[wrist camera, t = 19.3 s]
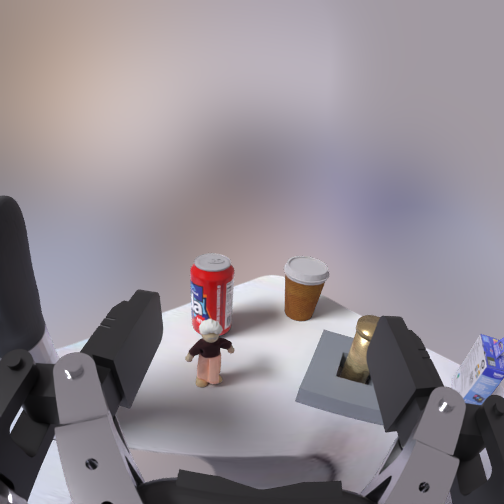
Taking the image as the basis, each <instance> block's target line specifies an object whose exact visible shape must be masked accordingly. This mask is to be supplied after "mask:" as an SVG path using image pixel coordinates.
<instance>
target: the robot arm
mask: <svg viewBox="0 0 504 504" xmlns="http://www.w3.org/2000/svg"><path fill="white" fill-rule="evenodd" d="M162 335H163V322H162V313H161V304H160V296H159V294H158V293H157V292H151V291H144V290H137V291H136V292H135V294H134V295H133V296H132V298H131V299H130V300H129V302H128V301H122V302H121V303H119V304H118V305H116V306H114V307H113V308H112V309H111V311H110V312H109V313H108V314H107V316H106V319H104V320H103V321H102V323H101V325H100V326H99V327H98V328H97V329H96V331H95V332H94V333H93V335H92V336H91V337H90V339H89V340H88V342H87V343H86V344H85V346H84V347H83V349H82V350H81V351H80V353H79V352H75V353H70V354H67V355H65V356H63V357H61V358H60V359H59V356H58V354H57V352H56V349H55V347H54V345H53V342H52V340H51V338H50V335H49V332H48V330H47V327H46V324H45V321H44V318H43V315H42V311H41V305H40V299H39V293H38V289H37V285H36V281H35V277H34V272H33V268H32V262H31V256H30V250H29V243H28V237H27V231H26V226H25V222H24V218H23V215H22V212H21V209H20V207H19V205H18V204H17V202H16V201H15V200H14V199H13V198H12V197H9V196H0V504H28V503H27V501H28V498H29V496H30V493H31V490H32V488H33V485H34V483H35V480H36V478H37V475H38V473H39V470H40V468H41V465H42V463H43V461H44V458H45V456H46V454H47V451H48V449H49V447H50V445H51V442H52V440H53V439H55V440H56V442H57V447H58V451H59V456H60V460H61V464H62V468H63V472H64V476H65V480H66V483H67V487H68V490H69V493H70V496H71V499H72V502H73V504H444V503H445V501H446V499H447V496H448V494H449V491H450V492H451V497H452V503H453V504H504V398H503V397H501V396H498V395H491V396H489V397H487V398H486V400H485V401H484V402H483V403H482V405H476V404H469V403H465V401H464V399H463V397H462V396H461V395H460V394H459V393H458V392H457V391H456V390H454V389H452V388H449V387H444V385H443V383H442V381H441V379H440V376H439V374H438V372H437V370H436V368H435V366H434V364H433V362H432V360H431V359H430V356H429V354H428V352H427V351H426V348H425V347H424V344H423V343H422V341H421V339H420V338H419V337H418V336H417V335H416V334H415V333H414V332H413V331H412V330H408V328H407V326H406V324H405V322H404V320H403V319H402V318H401V317H396V316H382V317H380V319H379V321H378V323H377V326H376V328H375V331H374V333H373V336H372V338H371V341H370V343H369V346H368V349H367V355H366V360H367V365H368V368H369V372H370V375H371V379H372V382H373V386H374V390H375V393H376V397H377V401H378V405H379V408H380V412H381V416H382V420H383V424H384V429H385V432H393V431H397V433H398V437H397V438H396V440H395V441H394V443H393V445H392V447H391V448H390V450H389V452H388V454H387V456H386V457H385V459H384V461H383V463H382V464H381V466H380V468H379V469H378V471H377V473H376V474H375V476H374V477H373V479H372V480H371V482H370V483H369V484H368V485H367V486H366V487H365V489H364V490H363V491H362V492H361V493H360V494H357V493H354V492H351V491H347V490H342V483H341V481H330V482H302V483H298V484H293V485H288V486H283V487H277V488H271V489H264V490H260V489H256V488H252V487H249V486H246V485H243V484H240V483H237V482H234V481H231V480H228V479H225V478H222V477H220V476H213V475H207V474H201V473H195V472H190V471H185V470H179V473H178V477H177V478H162V479H158V480H152V481H149V482H146V483H145V481H144V479H143V477H142V475H141V473H140V471H139V469H138V467H137V465H136V463H135V461H134V459H133V457H132V455H131V452H130V450H129V447H128V445H127V442H126V440H125V437H124V434H123V432H122V429H121V426H120V424H119V421H118V418H117V415H116V411H117V409H118V407H119V405H120V406H123V407H127V408H131V406H132V403H133V401H134V399H135V397H136V394H137V392H138V390H139V388H140V385H141V383H142V381H143V379H144V377H145V374H146V372H147V370H148V368H149V366H150V364H151V361H152V359H153V357H154V355H155V353H156V351H157V349H158V347H159V344H160V342H161V339H162ZM21 406H22V408H23V409H24V410H23V411H22V413H21V415H20V417H19V418H18V420H17V422H16V424H15V426H14V428H13V429H12V431H11V433H10V426H11V424H12V422H13V420H14V418H15V417H16V415H17V413H18V411H19V409H20V408H21ZM485 447H486V450H487V453H488V456H489V459H490V463H491V466H492V474H491V477H490V478H489V480H488V481H487V479H486V475H485V471H484V468H483V464H482V461H481V457H480V454H479V453H480V452H481V451H482V450H483V449H484V448H485Z"/></svg>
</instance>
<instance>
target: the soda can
mask: <svg viewBox="0 0 504 504" xmlns="http://www.w3.org/2000/svg"><path fill="white" fill-rule="evenodd" d="M190 274H191V309H192V325H193V328H194V330H195V331H196V332H198V333H199V334H200V330H199V326H200V324H201V323H202V321H204V320H208V319H212V320H215V321H217V322H218V323H219V324H220V325H221V327H222V329H223V331H222V332H221V334H220V335H219V336H221V335H223V334H225V333H227V332H228V331H229V330H230V328H231V322H232V305H233V287H234V268H233V266H232V265H231V261H230V259H229V258H228V257H226V256H224V255H220V254H214V253H212V254H211V253H210V254H203V255H200V256H198V257H197V258H196V259H195V260H194V264H193V265H192V267H191V270H190ZM201 335H202V334H201Z"/></svg>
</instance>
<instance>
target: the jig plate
mask: <svg viewBox="0 0 504 504" xmlns="http://www.w3.org/2000/svg"><path fill="white" fill-rule="evenodd" d="M353 340H354V338H351V337H348V336H344V335H341V334H337V333H334V332H330V331H327V330H323V333H322V336H321V338H320V341H319V343H318V346H317V348H316V351H315V353H314V355H313V358H312V360H311V363H310V365H309V367H308V370H307V372H306V374H305V376H304V379H303V381H302V383H301V386H300V388H299V391H298V394H297V397H296V400H295V401H296V402H299V403H302V404H305V405H309V406H312V407H315V408H318V409H322V410H325V411H329V412H332V413H336V414H339V415H343V416H347V417H350V418H354V419H358V420H362V421H366V422H371V423H375V424H379V425H384V424H383V420H382V416H381V412H380V408H379V405H378V401H377V397H376V393H375V390H374V386H373V382H372V379H371V375H370V376H369V381H368V385H366V384H362V383H359V382H355V381H351V380H347V379H344V378H340V377H337V376H336V374H337V371H338V367H339V366H342V367H344V364H345V361H346V359H347V356H348V353H349V351H350V348H351V345H352V342H353Z"/></svg>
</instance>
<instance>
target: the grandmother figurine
mask: <svg viewBox="0 0 504 504" xmlns="http://www.w3.org/2000/svg"><path fill="white" fill-rule="evenodd" d="M199 330H200V334H202V337H203V338H202V339H200V340H199V341H198V342H197V343H196V344H195V345H194V346H193V347H192V348H191V349H190V350H189V353H188V355H187V356H186V361H187V362H191V361H192V358H194V356H195V355H198V354H199V359H198V366H197V378H196V385H197V386H198V387H205V386H207V384H208V382H209V383H210V384H218V383H221V382H222V377H221V376H220V375H219V373H220V368H221V353H220V348H223V349H227V350H228V352H229V353H234V348H233V346H232V343H231V342H230V341H228V340H226V339H224V338H219V335H220V334H221V332H222V331H223V329H222V327H221V325H220V324H219V323H218V322H217V321H215V320H212V319H208V320H204V321H202V323H201V324H200V326H199Z"/></svg>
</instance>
